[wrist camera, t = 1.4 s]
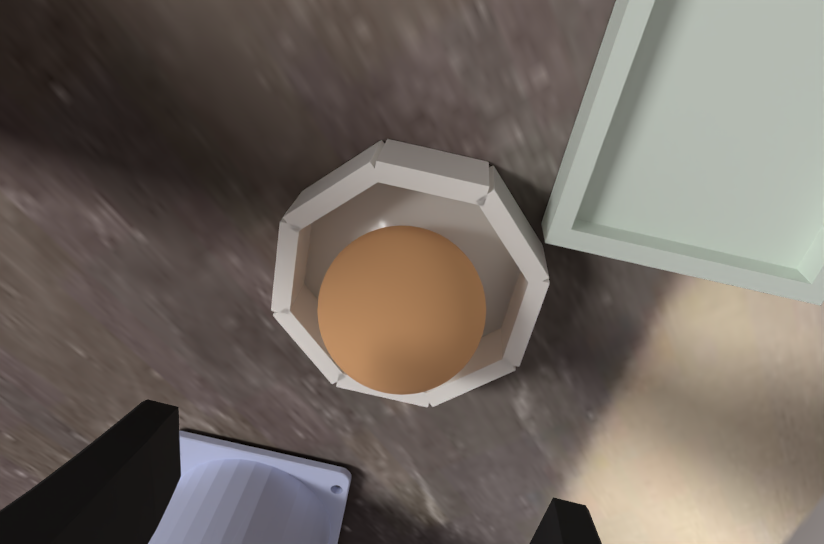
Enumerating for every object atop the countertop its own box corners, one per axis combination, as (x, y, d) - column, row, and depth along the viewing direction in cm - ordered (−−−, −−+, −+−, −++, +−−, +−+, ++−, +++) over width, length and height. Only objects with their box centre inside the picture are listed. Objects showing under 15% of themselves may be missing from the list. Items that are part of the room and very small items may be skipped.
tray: (798, 282, 19) (820, 305, 18) (541, 223, 19) (545, 242, 18) (1039, -118, 14) (1096, -126, 13) (683, -200, 14) (704, -215, 13)
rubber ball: (465, 345, 21) (461, 448, 17) (328, 314, 21) (288, 409, 17) (503, 220, 19) (509, 301, 14) (349, 184, 19) (308, 255, 14)
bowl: (497, 382, 22) (498, 423, 20) (283, 334, 22) (265, 370, 20) (567, 179, 18) (577, 206, 16) (308, 120, 18) (287, 140, 16)
